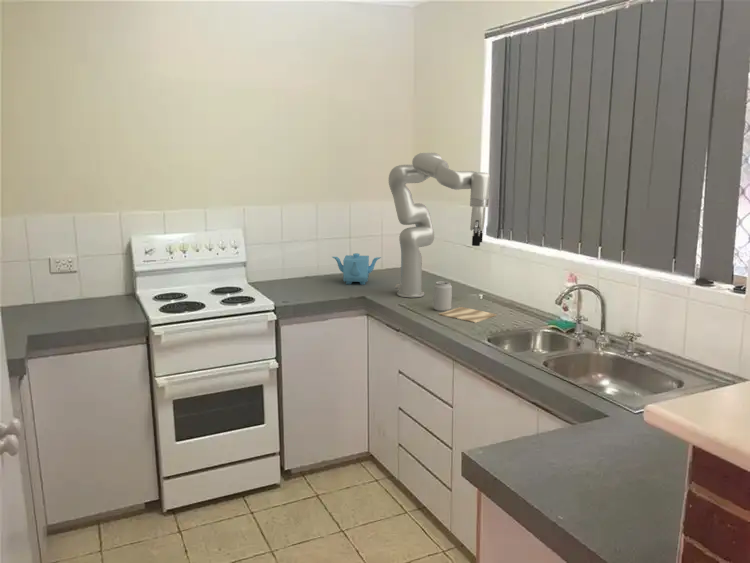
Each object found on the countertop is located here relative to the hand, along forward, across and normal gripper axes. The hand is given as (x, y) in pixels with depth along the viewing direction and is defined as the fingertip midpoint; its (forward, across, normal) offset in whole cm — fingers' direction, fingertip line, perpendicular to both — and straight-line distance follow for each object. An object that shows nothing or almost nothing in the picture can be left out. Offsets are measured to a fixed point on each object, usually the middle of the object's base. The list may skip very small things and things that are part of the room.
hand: (477, 243), depth 280 cm
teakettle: (+30, -39, -63) cm, 80 cm away
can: (+29, +3, -13) cm, 32 cm away
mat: (+28, +9, -1) cm, 30 cm away
